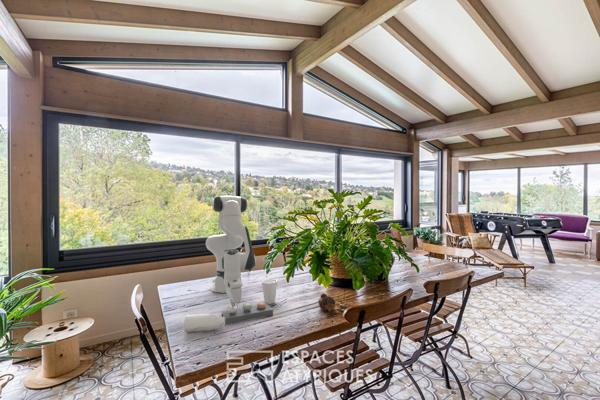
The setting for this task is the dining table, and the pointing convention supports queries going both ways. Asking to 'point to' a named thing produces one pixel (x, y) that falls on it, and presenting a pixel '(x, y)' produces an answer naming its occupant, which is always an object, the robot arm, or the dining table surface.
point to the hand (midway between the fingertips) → (233, 306)
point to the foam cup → (269, 290)
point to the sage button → (247, 307)
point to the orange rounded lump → (261, 305)
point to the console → (247, 314)
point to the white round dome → (232, 310)
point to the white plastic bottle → (203, 322)
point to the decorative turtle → (326, 303)
